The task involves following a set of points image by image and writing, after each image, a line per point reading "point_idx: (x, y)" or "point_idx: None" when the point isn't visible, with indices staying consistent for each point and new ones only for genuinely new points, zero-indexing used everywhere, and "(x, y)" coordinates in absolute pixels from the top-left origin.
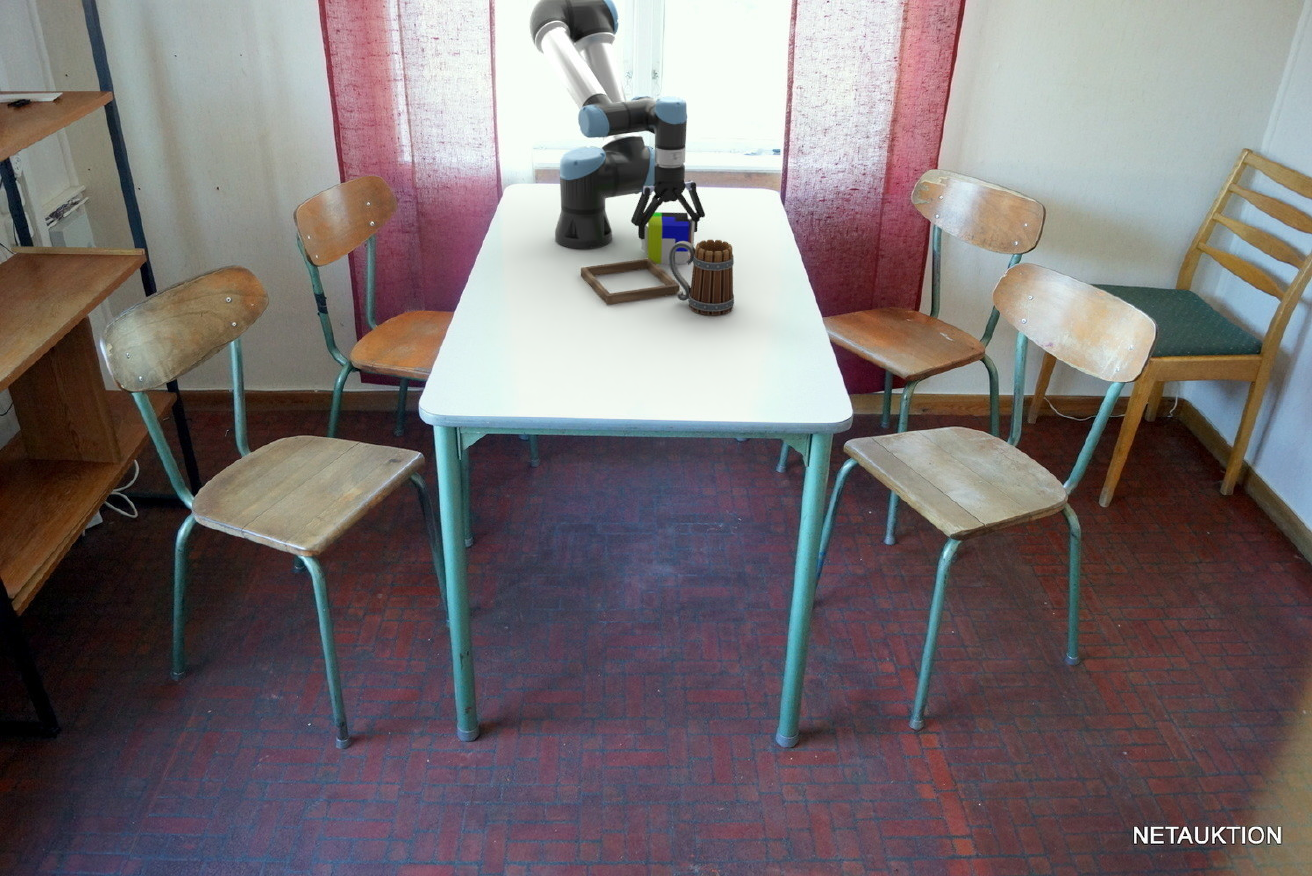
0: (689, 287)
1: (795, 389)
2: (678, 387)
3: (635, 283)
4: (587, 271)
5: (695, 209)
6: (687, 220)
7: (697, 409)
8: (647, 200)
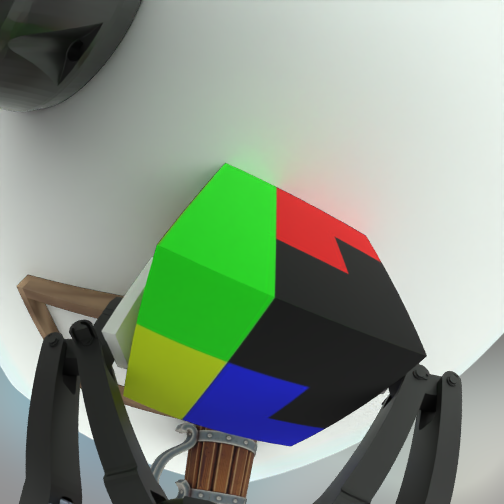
0: (192, 445)
1: None
2: (144, 455)
3: None
4: (29, 308)
5: (442, 399)
6: (332, 422)
7: (151, 463)
8: (75, 484)
